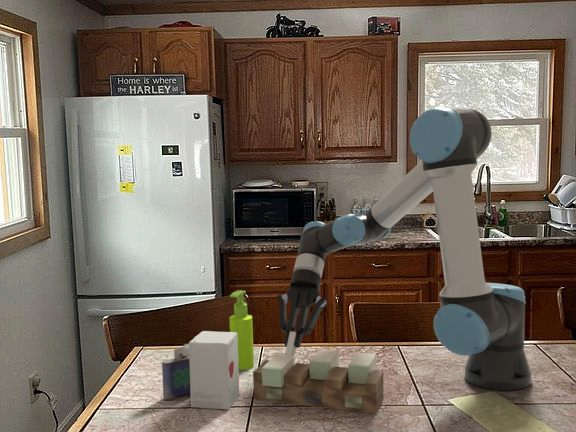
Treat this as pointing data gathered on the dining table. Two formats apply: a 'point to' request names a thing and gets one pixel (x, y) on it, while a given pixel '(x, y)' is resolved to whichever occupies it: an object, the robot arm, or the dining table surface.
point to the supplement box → (214, 370)
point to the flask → (176, 377)
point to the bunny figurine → (185, 351)
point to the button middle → (323, 363)
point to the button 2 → (361, 367)
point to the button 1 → (276, 370)
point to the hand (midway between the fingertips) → (288, 358)
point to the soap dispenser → (242, 331)
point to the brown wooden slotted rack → (322, 389)
